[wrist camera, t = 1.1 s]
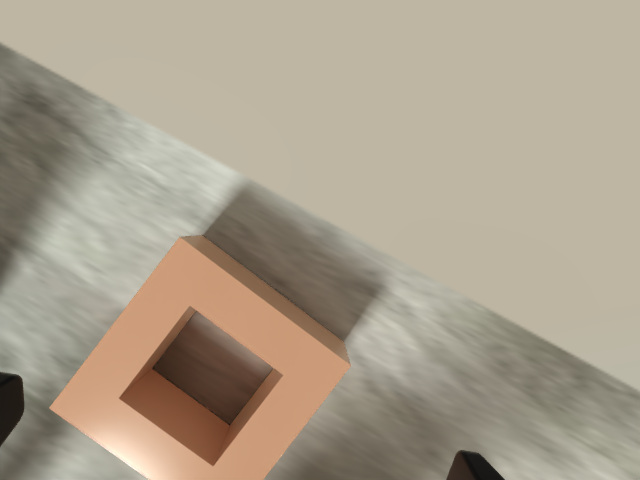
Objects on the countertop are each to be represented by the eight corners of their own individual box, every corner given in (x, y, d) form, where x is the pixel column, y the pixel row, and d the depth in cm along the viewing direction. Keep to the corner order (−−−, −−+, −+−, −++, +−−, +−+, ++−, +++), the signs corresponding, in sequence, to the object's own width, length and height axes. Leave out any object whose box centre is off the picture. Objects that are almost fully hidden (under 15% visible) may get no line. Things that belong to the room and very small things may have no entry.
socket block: (237, 480, 23) (222, 532, 19) (94, 376, 23) (49, 408, 19) (343, 341, 23) (351, 365, 19) (202, 235, 23) (179, 236, 19)
